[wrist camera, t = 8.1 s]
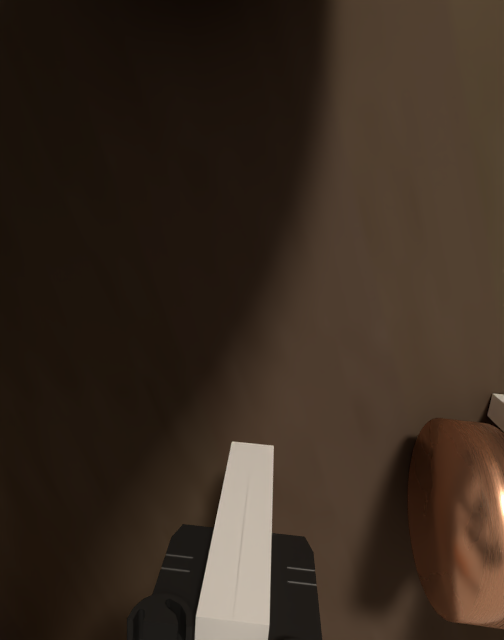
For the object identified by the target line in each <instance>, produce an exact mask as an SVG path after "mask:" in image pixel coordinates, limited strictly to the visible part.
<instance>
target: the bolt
mask: <svg viewBox="0 0 504 640" xmlns="http://www.w3.org/2000/svg"><path fill="white" fill-rule="evenodd" d="M407 499H408V522H409V532H410V540H411V546H412V551H413V556H414V561H415V565H416V568H417V572H418V575H419V578H420V581H421V584H422V587H423V589H424V591H425V594H426V596H427V598H428V600H429V602H430V603H431V605H432V606H433V608H434V609H435V611H436V612H437V613H438V614H439V615H440V616H441V617H442V618H444V619H445V620H447V621H449V622H456V623H463V624H470V625H477V626H485V627H492V628H499V629H504V433H503V432H502V431H500V430H499V429H498V428H496V427H494V426H493V425H490V424H487V423H479V422H470V421H461V420H452V419H443V418H435V419H432V420H430V421H429V422H427V423H426V425H425V426H424V427H423V428H422V430H421V431H420V433H419V435H418V437H417V440H416V443H415V446H414V449H413V453H412V457H411V462H410V468H409V477H408V497H407Z"/></svg>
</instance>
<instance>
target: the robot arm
mask: <svg viewBox="0 0 504 640" xmlns="http://www.w3.org/2000/svg"><path fill="white" fill-rule="evenodd" d="M273 454H274V446H270V445H261V444H251V443H241V442H232V444H231V449H230V454H229V459H228V463H227V468H226V473H225V478H224V483H223V488H222V492H221V497H220V502H219V507H218V512H217V517H216V521H215V526H214V528H212V527H203V526H194V525H185V524H183V525H182V526H181V527H180V528H179V529H178V531H177V532H176V533H175V534H174V535H173V536H172V537H171V540H170V543H169V546H168V549H167V552H166V556H165V558H164V561H163V564H162V569H161V570H160V573H159V576H158V579H157V582H156V585H155V588H154V591H153V594H152V595H151V596H149V597H147V598H144V599H143V600H142V601H141V602H139V603H138V604H137V605H136V606H135V607H134V608H133V610H132V611H131V613H130V615H129V616H128V618H127V640H322V633H321V624H320V614H319V604H318V594H317V587H316V574H315V564H314V554H313V551H312V549H311V547H310V545H309V544H308V542H307V540H306V538H305V537H302V536H293V535H284V534H275V533H272V496H273Z"/></svg>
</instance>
